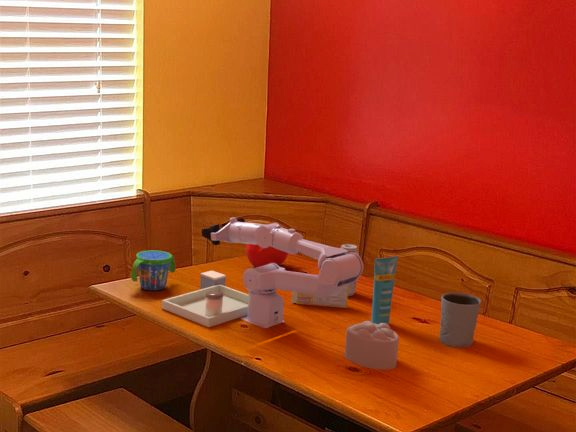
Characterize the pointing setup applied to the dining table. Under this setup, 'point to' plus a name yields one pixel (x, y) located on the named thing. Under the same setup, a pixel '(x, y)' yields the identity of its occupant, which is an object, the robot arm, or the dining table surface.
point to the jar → (213, 303)
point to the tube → (383, 289)
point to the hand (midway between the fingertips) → (213, 230)
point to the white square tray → (195, 305)
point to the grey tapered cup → (458, 319)
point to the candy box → (322, 299)
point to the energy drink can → (349, 248)
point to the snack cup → (153, 269)
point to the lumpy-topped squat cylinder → (372, 345)
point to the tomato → (264, 255)
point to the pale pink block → (212, 279)
